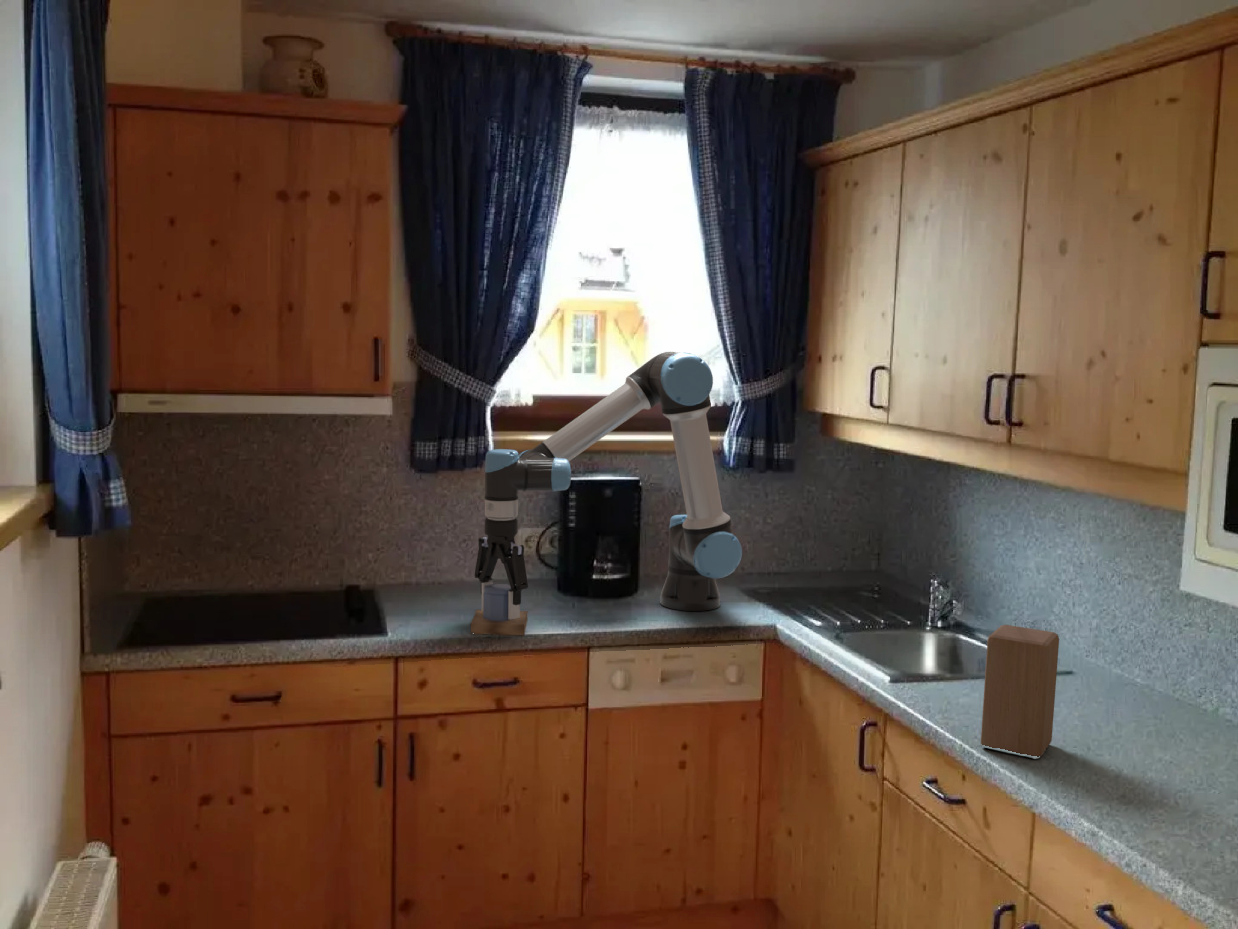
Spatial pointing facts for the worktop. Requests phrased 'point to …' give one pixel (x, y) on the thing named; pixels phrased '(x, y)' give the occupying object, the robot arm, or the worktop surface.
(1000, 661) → the wooden block
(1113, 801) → the worktop surface
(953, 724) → the worktop surface
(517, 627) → the stud block
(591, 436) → the robot arm
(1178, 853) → the worktop surface
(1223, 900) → the worktop surface
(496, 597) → the cap
